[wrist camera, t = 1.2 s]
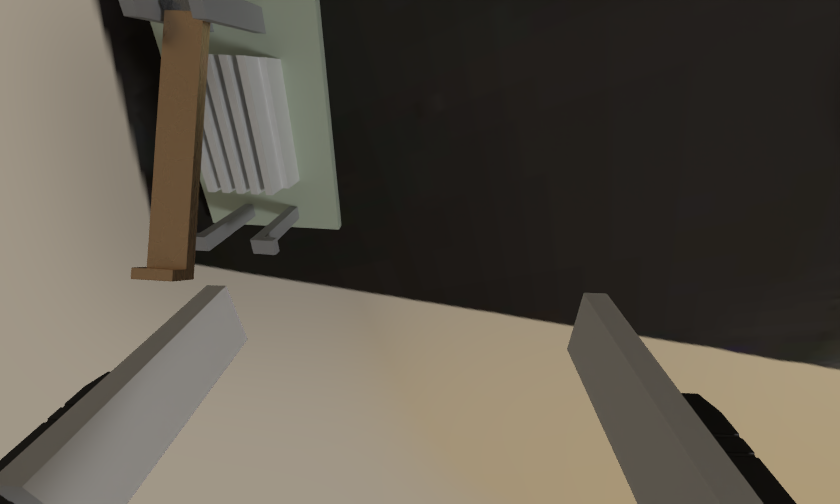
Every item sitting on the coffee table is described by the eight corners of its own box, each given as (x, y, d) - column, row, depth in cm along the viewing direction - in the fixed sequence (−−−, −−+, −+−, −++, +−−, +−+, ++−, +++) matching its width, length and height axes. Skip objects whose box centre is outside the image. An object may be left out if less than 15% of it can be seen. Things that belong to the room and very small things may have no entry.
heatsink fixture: (146, -22, 29) (15, -66, 20) (317, -17, 28) (261, -60, 19) (219, 218, 41) (157, 258, 32) (341, 225, 40) (313, 267, 31)
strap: (176, 5, 25) (150, -21, 22) (215, 6, 25) (193, -20, 22) (157, 276, 24) (129, 278, 22) (197, 278, 24) (173, 281, 22)
